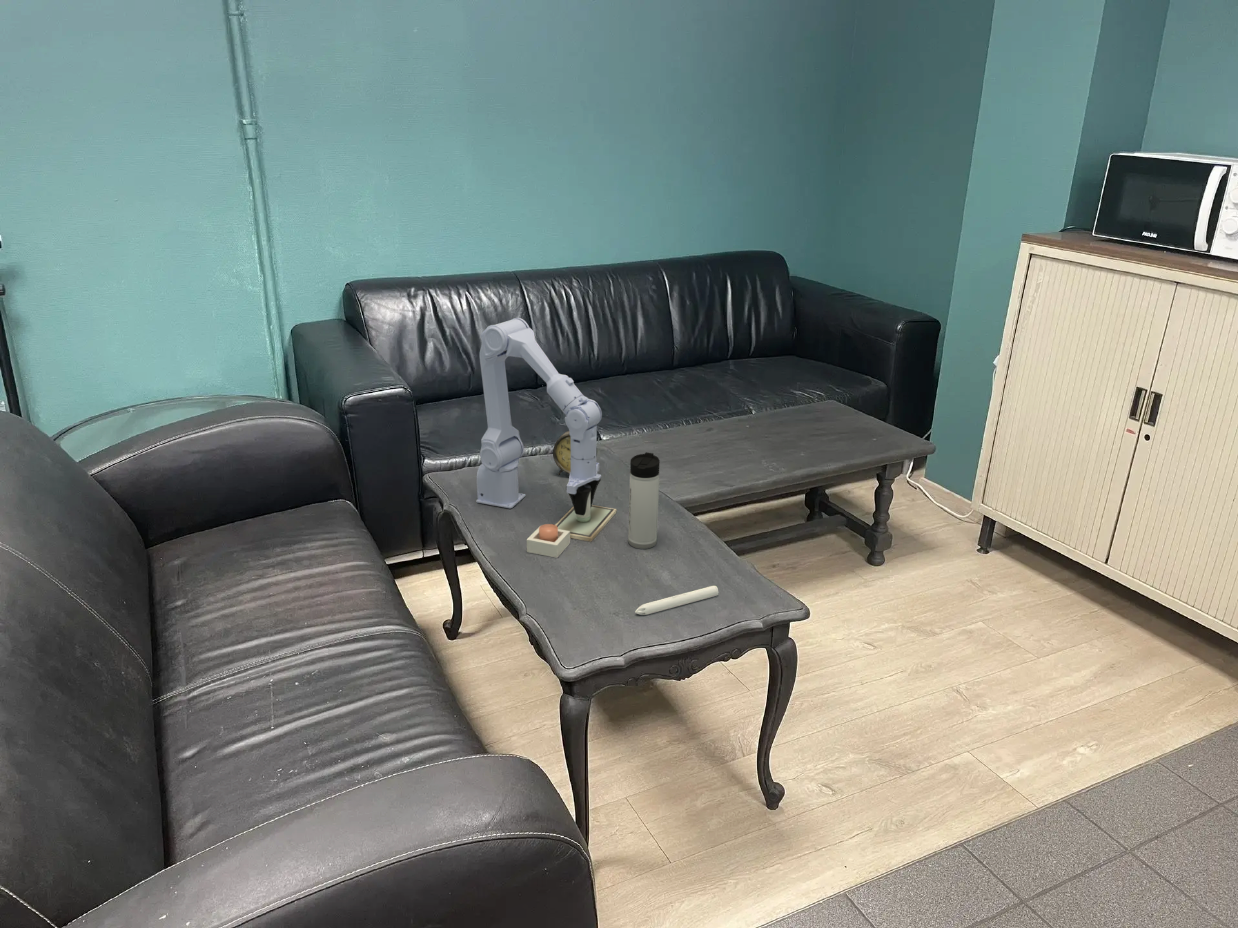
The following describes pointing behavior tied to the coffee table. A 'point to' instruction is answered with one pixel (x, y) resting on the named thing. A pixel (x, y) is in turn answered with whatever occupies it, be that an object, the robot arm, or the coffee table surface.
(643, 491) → the travel mug
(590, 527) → the picture frame
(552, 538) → the button
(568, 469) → the alarm clock
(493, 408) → the robot arm
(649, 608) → the marker
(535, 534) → the button housing
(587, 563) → the coffee table surface
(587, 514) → the cylinder
